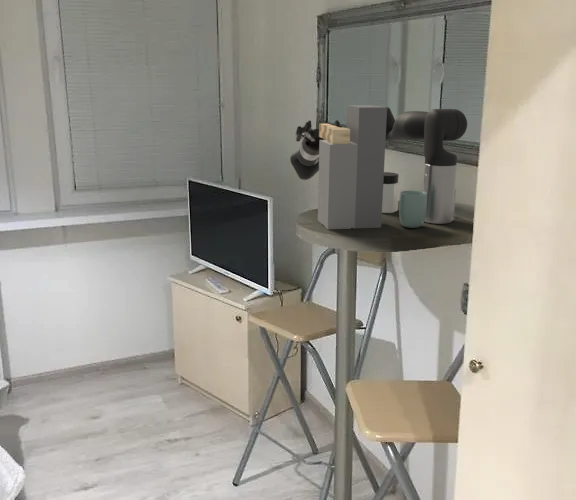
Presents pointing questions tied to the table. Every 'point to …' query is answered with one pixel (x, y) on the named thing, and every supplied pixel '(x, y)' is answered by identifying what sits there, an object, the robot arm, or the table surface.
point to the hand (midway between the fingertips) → (323, 123)
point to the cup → (412, 208)
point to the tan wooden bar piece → (334, 134)
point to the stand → (354, 172)
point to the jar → (390, 192)
